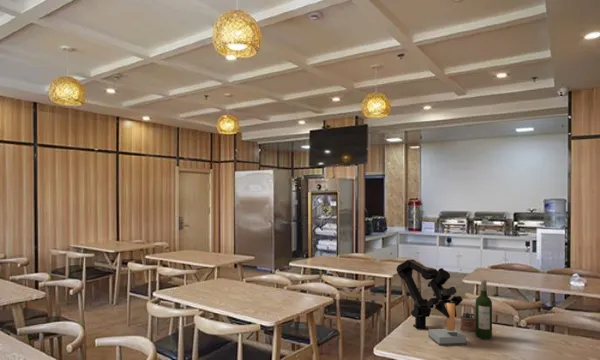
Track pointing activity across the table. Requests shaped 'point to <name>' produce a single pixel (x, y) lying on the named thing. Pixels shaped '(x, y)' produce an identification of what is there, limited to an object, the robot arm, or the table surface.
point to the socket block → (447, 337)
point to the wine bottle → (483, 314)
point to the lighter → (468, 322)
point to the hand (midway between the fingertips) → (452, 317)
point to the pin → (450, 316)
